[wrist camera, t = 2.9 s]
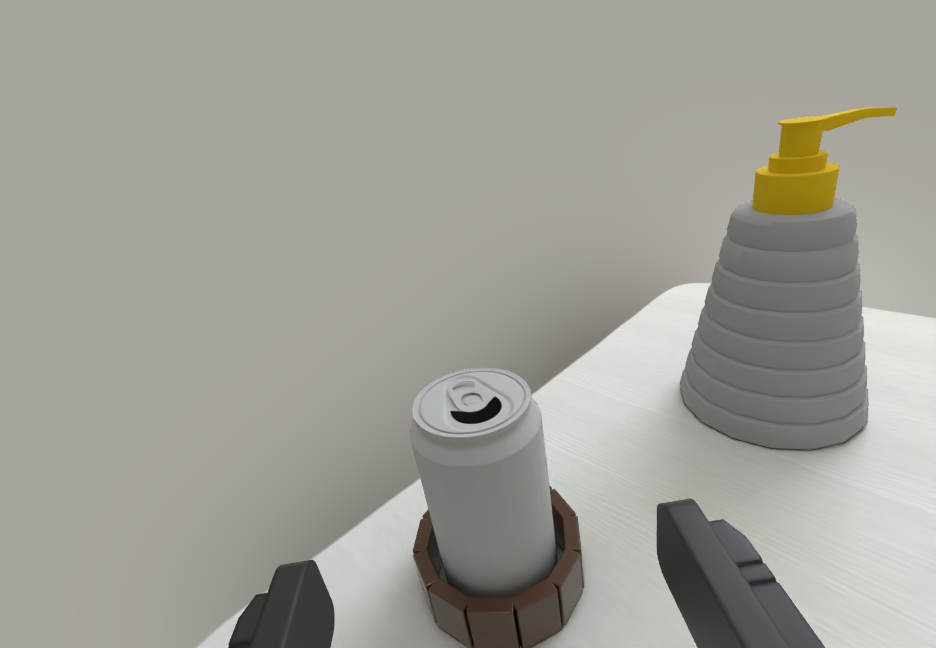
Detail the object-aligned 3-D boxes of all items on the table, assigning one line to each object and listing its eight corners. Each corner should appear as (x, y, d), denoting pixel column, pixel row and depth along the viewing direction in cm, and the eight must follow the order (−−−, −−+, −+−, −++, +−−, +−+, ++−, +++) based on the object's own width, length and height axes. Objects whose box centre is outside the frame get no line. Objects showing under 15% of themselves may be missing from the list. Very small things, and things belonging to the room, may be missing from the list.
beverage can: (468, 646, 24) (422, 461, 19) (434, 548, 30) (392, 385, 25) (580, 595, 26) (565, 410, 21) (528, 511, 31) (506, 349, 26)
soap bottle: (915, 443, 31) (1018, 102, 23) (714, 458, 33) (740, 144, 24) (806, 350, 43) (847, 98, 34) (660, 365, 44) (664, 127, 35)
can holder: (409, 649, 25) (396, 611, 23) (439, 510, 33) (431, 476, 31) (591, 654, 23) (588, 614, 22) (575, 507, 31) (572, 471, 30)
